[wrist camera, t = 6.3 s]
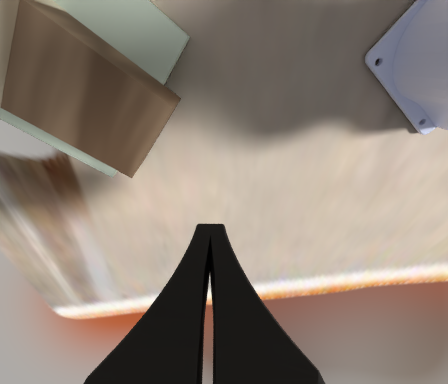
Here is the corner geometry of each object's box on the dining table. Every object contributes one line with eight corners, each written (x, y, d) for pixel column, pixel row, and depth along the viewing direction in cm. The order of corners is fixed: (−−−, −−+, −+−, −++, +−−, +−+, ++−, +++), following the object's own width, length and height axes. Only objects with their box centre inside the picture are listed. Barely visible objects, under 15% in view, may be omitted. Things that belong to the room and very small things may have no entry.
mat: (190, 37, 14) (187, 34, 12) (115, 173, 19) (107, 183, 18) (-28, -158, 10) (-73, -198, 8) (-45, 88, 15) (-74, 91, 14)
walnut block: (173, 107, 12) (-7, -23, 9) (131, 178, 15) (-22, 97, 12) (181, 97, 15) (48, -4, 12) (144, 158, 18) (26, 89, 15)
